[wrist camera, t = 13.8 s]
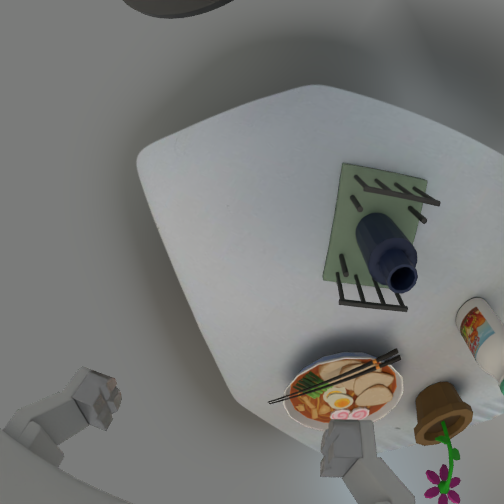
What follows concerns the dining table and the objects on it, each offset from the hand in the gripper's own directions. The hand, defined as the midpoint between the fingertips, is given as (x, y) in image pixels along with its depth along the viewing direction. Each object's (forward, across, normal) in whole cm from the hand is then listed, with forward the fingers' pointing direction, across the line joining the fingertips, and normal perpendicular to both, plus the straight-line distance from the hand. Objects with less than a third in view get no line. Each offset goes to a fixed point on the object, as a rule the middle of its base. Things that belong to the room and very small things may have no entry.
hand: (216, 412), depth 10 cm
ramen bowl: (+36, -16, +35) cm, 53 cm away
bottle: (+35, -14, +5) cm, 38 cm away
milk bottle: (+36, -39, +18) cm, 56 cm away
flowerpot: (+36, -42, +42) cm, 69 cm away
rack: (+36, -15, +5) cm, 39 cm away
